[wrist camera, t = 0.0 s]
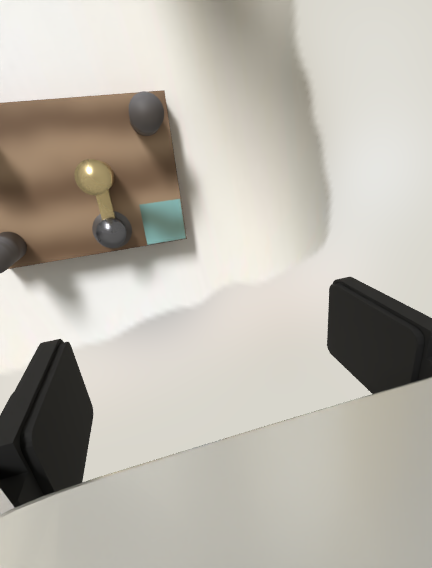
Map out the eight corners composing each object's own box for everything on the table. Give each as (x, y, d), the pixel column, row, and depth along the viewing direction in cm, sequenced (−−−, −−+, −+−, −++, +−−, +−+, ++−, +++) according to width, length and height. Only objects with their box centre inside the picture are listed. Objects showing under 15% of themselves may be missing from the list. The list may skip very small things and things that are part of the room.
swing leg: (129, 241, 36) (128, 252, 31) (101, 246, 35) (96, 257, 31) (110, 158, 32) (106, 157, 28) (79, 162, 32) (69, 161, 27)
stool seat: (-56, 113, 30) (-116, 97, 23) (162, 96, 34) (169, 77, 27) (4, 263, 37) (-28, 287, 29) (183, 233, 41) (193, 248, 33)
